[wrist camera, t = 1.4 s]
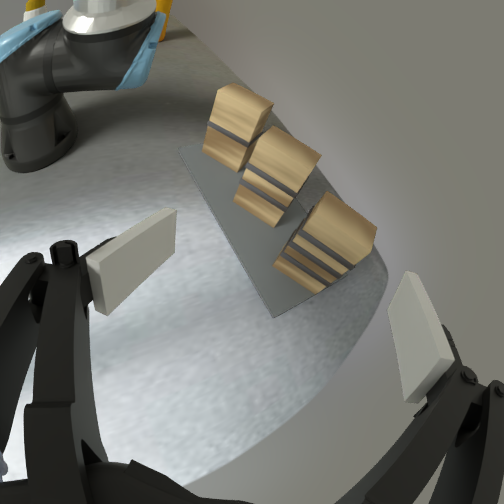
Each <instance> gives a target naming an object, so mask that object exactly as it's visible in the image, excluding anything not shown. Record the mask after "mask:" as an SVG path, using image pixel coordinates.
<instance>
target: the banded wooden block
mask: <svg viewBox="0 0 504 504" xmlns="http://www.w3.org/2000/svg"><path fill="white" fill-rule="evenodd" d="M273 105H274V103H273V102H271V101H269V100H267V99H265V98H263V97H261V96H259V95H257V94H256V93H254V92H252V91H250V90H248V89H246V88H244V87H241V86H239V85H237V84H235V83H231V84H229V85H227V86H225V87H223V88H221V89H219V90H218V91H217V95H216V98H215V102H214V106H213V109H212V113H211V117H210V120H208V123H207V125H208V128H207V132H206V136H205V140H204V144H203V148H202V152H203V153H205V154H207V155H208V156H210V157H212V158H213V159H215V160H217V161H218V162H220V163H222V164H223V165H225V166H227V167H228V168H230V169H232V170H233V171H235V172H238V171H239V170H240V169H241V168H242V167H243V166H244V165H245V164H246V163H247V162H248V161H249V160H250V158H251V155H252V153H253V151H254V148H255V146H256V144H257V141H258V139H259V137H261V135H262V133H263V132H262V130H263V127H264V125H265V123H266V120H267V118H268V116H269V114H270V111H271V109H272V107H273Z"/></svg>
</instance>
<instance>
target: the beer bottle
mask: <svg viewBox="0 0 504 504" xmlns="http://www.w3.org/2000/svg"><path fill="white" fill-rule="evenodd" d="M171 5H172V0H156V11H155V12H157V11H159V12H161V13H165V14H166V19H165V23H164V26H163V29H162V32H161V35H160V38H159V41H158V42H160V41H162V40H163V39H164V37H165V33H166V27H167V22H168V18H169V13H170V9H171Z"/></svg>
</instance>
